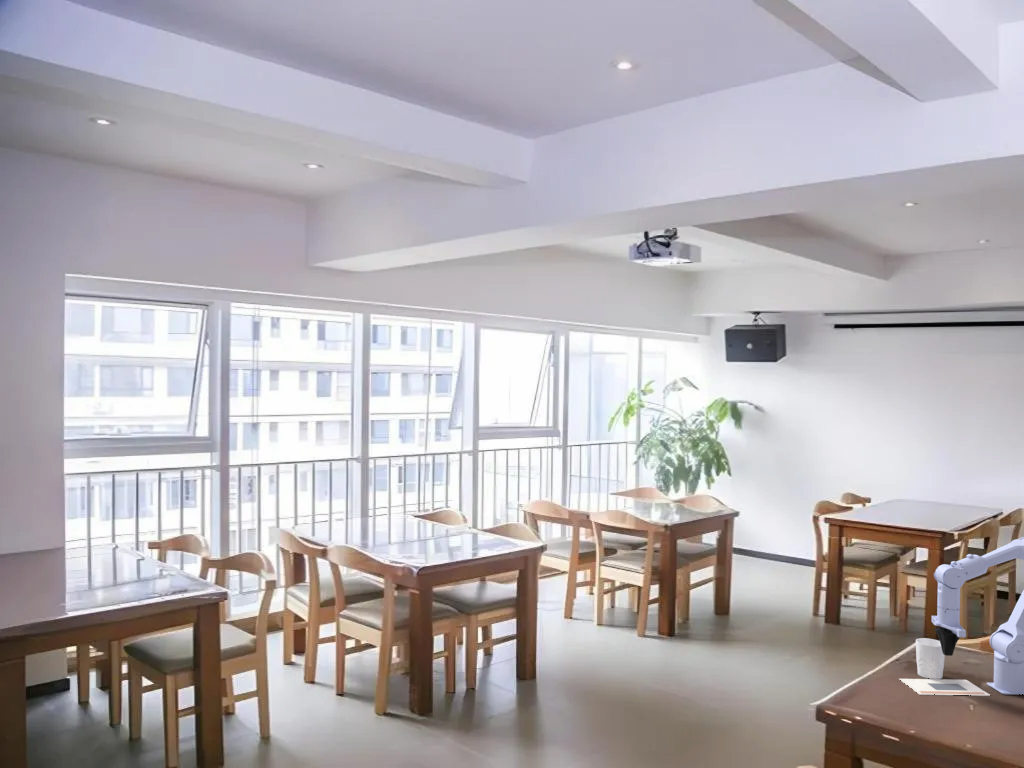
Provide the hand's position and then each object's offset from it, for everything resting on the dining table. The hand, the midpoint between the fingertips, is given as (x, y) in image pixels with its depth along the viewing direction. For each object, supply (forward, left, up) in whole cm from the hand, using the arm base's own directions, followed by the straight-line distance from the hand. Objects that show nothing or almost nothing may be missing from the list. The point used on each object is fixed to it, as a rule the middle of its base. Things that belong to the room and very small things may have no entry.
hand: (947, 654), depth 231 cm
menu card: (+1, 0, -9) cm, 9 cm away
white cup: (0, -10, -10) cm, 14 cm away
